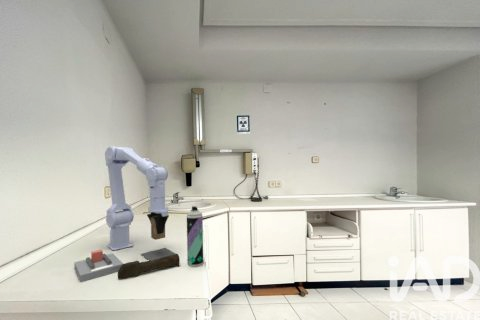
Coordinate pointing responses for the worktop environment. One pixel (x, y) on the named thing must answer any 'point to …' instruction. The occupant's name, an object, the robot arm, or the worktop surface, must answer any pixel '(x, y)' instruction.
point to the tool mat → (157, 254)
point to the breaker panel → (97, 267)
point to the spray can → (194, 237)
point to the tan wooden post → (155, 231)
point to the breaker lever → (97, 256)
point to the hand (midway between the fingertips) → (158, 232)
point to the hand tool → (146, 266)
